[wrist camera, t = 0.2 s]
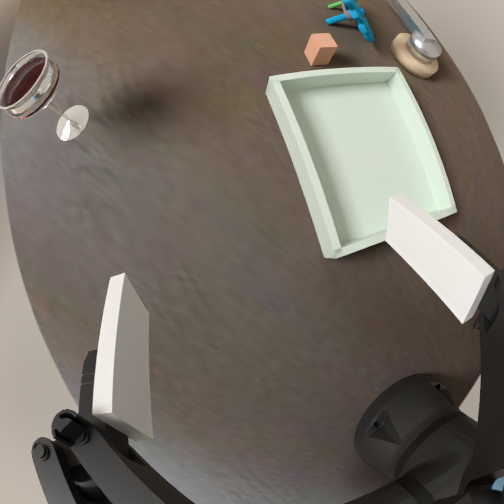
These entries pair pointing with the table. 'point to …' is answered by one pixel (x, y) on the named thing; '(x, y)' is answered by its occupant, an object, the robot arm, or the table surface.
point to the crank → (417, 33)
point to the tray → (357, 151)
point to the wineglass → (39, 93)
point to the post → (320, 49)
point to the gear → (352, 17)
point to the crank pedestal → (411, 58)
